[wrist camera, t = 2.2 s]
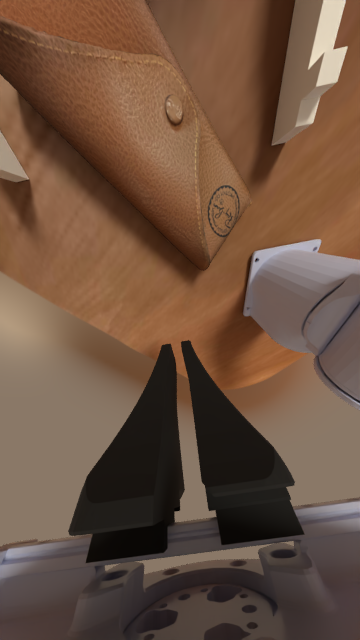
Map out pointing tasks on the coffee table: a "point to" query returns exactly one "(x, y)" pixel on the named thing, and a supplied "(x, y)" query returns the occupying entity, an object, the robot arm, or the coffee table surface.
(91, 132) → the sunglasses case
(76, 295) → the coffee table surface
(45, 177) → the coffee table surface
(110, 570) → the robot arm
